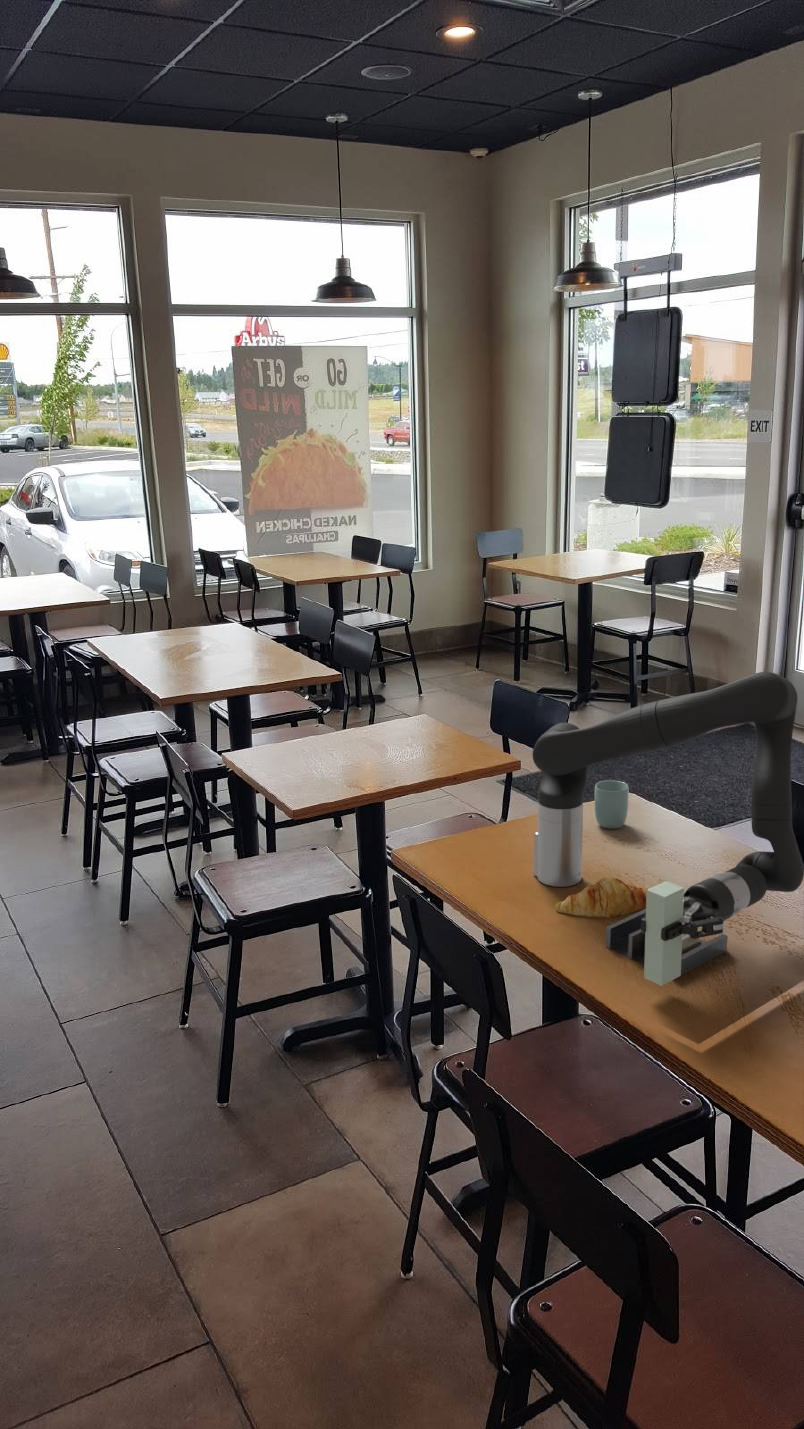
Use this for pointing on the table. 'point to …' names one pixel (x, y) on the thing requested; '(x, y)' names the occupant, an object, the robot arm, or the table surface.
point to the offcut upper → (688, 941)
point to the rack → (631, 943)
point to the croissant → (605, 899)
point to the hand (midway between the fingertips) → (653, 930)
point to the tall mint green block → (660, 913)
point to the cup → (611, 803)
